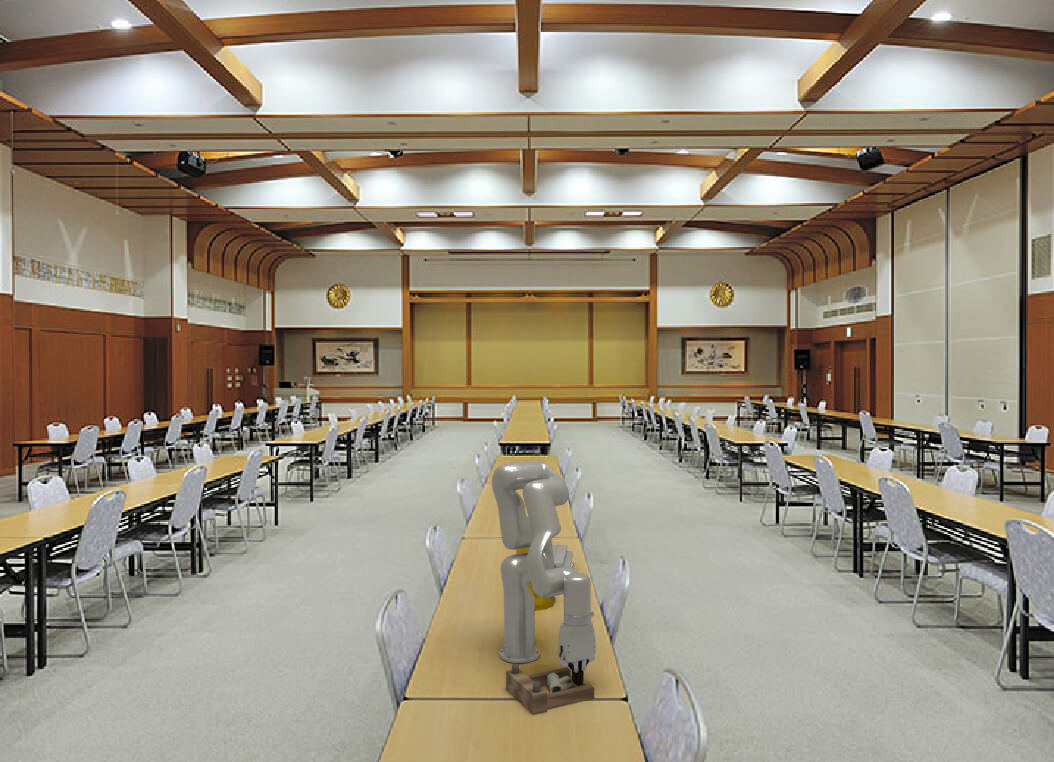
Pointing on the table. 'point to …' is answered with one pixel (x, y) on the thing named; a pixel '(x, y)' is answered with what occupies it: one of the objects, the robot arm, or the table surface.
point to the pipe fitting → (558, 683)
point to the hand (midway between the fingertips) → (577, 684)
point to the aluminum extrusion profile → (562, 556)
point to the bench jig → (536, 697)
